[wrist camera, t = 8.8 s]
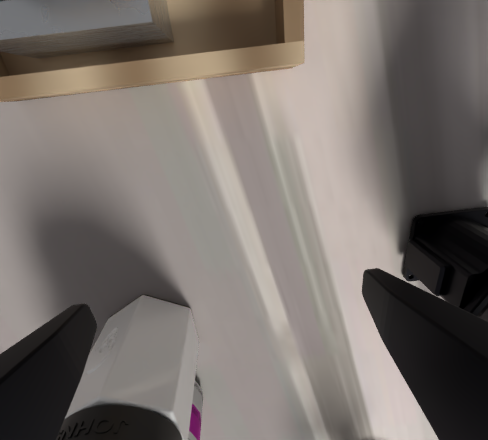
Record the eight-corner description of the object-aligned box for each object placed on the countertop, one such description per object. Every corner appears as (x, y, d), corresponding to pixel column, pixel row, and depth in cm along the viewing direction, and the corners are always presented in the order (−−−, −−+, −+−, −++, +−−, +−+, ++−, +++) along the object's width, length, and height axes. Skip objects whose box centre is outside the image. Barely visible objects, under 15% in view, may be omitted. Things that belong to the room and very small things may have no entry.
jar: (159, 279, 24) (102, 431, 13) (217, 331, 27) (210, 490, 16) (90, 327, 26) (-9, 494, 15) (152, 370, 29) (106, 536, 18)
